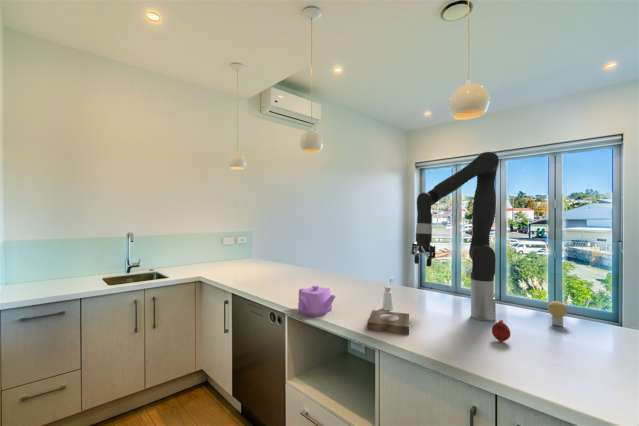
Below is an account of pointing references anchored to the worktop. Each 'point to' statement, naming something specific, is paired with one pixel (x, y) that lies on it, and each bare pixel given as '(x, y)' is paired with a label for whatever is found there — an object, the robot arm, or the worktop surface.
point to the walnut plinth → (389, 322)
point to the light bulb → (557, 312)
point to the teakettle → (315, 301)
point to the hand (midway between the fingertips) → (422, 265)
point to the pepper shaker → (387, 299)
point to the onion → (501, 331)
